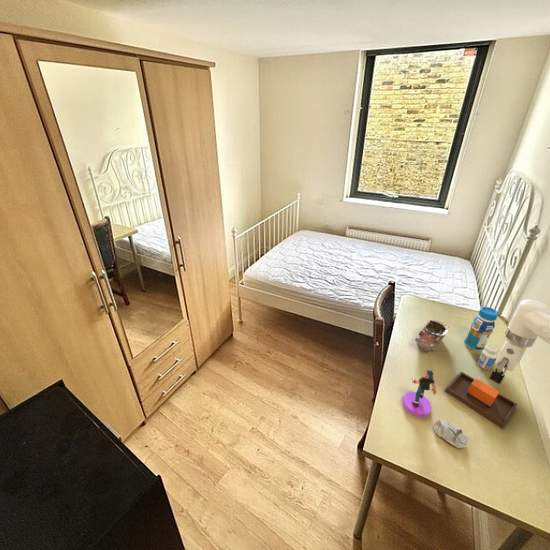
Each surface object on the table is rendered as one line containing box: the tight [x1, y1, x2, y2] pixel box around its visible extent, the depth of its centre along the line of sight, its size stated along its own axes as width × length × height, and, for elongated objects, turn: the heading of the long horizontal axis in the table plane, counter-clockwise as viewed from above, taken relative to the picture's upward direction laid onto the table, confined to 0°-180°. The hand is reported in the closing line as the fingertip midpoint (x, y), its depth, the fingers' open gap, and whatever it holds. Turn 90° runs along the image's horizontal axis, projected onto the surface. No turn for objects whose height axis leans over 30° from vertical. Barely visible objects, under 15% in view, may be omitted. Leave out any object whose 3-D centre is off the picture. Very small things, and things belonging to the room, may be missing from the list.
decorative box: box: [414, 318, 450, 352], centre depth 134 cm, size 13×20×10 cm, turn 128°
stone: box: [433, 419, 468, 449], centre depth 98 cm, size 10×7×3 cm
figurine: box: [402, 369, 438, 418], centre depth 104 cm, size 9×9×18 cm
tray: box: [444, 371, 518, 429], centre depth 111 cm, size 20×14×2 cm
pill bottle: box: [476, 344, 499, 371], centre depth 124 cm, size 6×5×10 cm
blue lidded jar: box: [463, 306, 499, 352], centre depth 133 cm, size 8×8×20 cm
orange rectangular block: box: [466, 378, 500, 408], centre depth 110 cm, size 8×4×6 cm, turn 39°
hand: (499, 374), depth 102 cm, fingers open, 9 cm apart
